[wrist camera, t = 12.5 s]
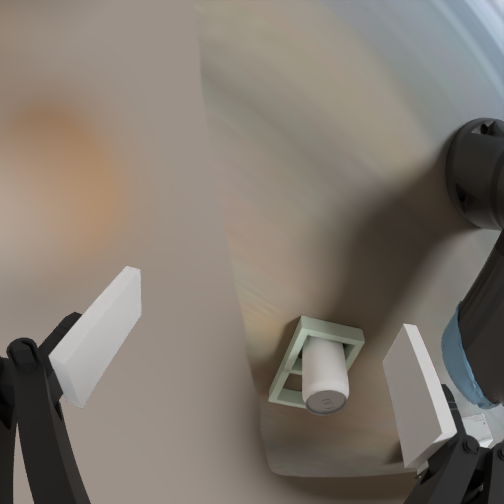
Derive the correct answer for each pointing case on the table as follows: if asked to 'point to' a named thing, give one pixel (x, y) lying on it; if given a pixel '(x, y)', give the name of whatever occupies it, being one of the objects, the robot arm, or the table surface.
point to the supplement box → (472, 433)
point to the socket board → (294, 364)
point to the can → (324, 376)
